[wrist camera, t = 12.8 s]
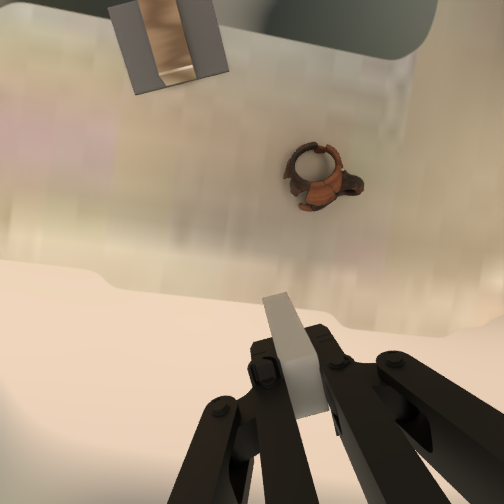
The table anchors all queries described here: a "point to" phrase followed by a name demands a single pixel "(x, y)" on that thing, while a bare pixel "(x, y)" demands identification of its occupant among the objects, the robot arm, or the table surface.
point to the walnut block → (167, 40)
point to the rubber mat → (140, 52)
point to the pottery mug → (325, 189)
